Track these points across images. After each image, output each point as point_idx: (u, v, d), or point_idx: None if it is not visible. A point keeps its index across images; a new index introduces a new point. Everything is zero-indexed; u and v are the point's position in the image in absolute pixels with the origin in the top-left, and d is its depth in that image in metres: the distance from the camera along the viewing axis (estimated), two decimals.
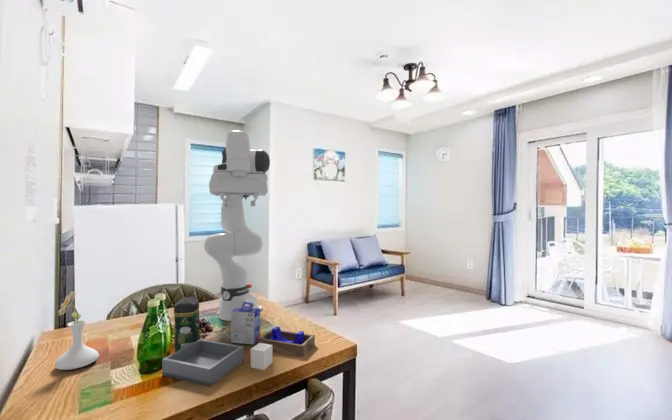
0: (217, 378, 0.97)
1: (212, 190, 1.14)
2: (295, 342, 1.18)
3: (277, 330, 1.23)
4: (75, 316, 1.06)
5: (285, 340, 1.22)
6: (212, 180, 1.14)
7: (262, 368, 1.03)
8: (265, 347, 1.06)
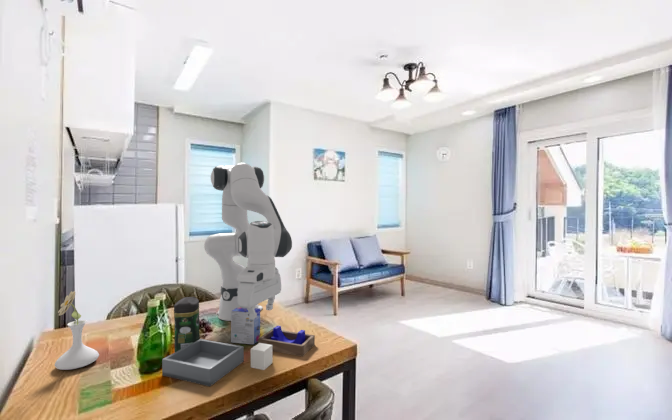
0: (217, 378, 0.97)
1: (249, 307, 0.97)
2: (296, 341, 1.19)
3: (278, 329, 1.23)
4: (75, 316, 1.06)
5: (286, 339, 1.23)
6: (251, 295, 0.97)
7: (262, 368, 1.03)
8: (265, 347, 1.06)
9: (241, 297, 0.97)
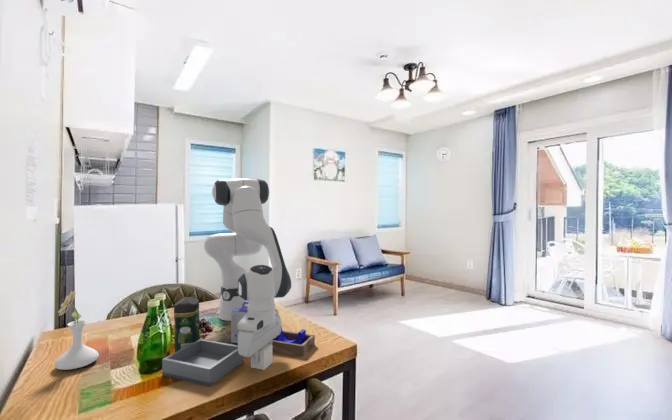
0: (217, 378, 0.97)
1: (249, 356, 0.97)
2: (297, 340, 1.19)
3: None
4: (75, 316, 1.06)
5: (287, 339, 1.23)
6: (251, 344, 0.97)
7: (262, 368, 1.04)
8: (265, 346, 1.06)
9: (241, 346, 0.97)
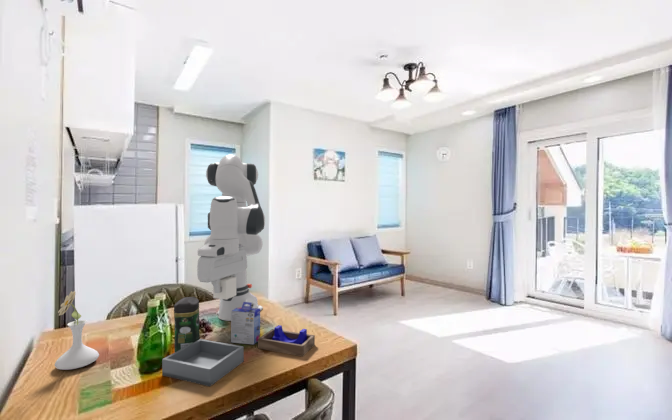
0: (217, 378, 0.97)
1: (209, 281, 0.96)
2: (298, 340, 1.20)
3: (279, 329, 1.24)
4: (75, 316, 1.06)
5: (287, 338, 1.23)
6: (210, 269, 0.95)
7: (224, 297, 1.02)
8: (228, 278, 1.05)
9: (201, 271, 0.95)
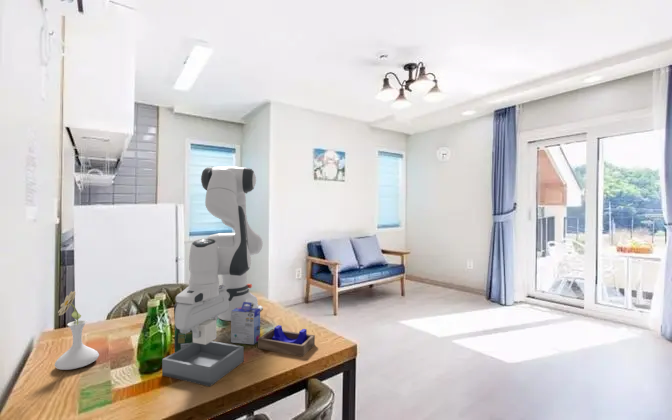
0: (217, 378, 0.97)
1: (186, 328, 0.95)
2: (298, 340, 1.20)
3: (279, 329, 1.24)
4: (75, 316, 1.06)
5: (287, 338, 1.23)
6: (188, 316, 0.95)
7: (203, 343, 1.01)
8: (208, 321, 1.04)
9: (178, 319, 0.95)
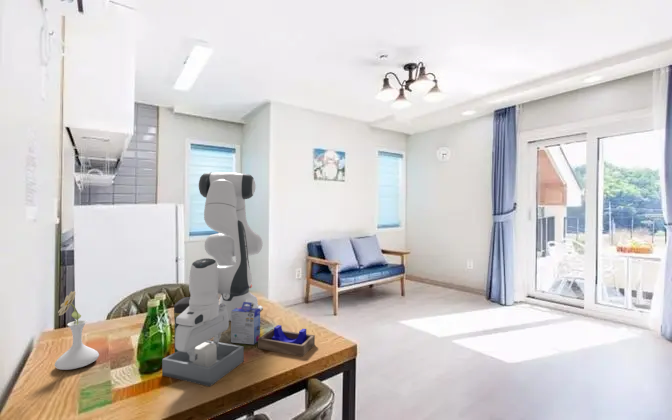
0: (217, 378, 0.97)
1: (186, 350, 0.95)
2: (298, 340, 1.20)
3: (279, 329, 1.24)
4: (75, 316, 1.06)
5: (287, 338, 1.23)
6: (188, 339, 0.95)
7: None
8: (208, 346, 1.04)
9: (178, 341, 0.95)
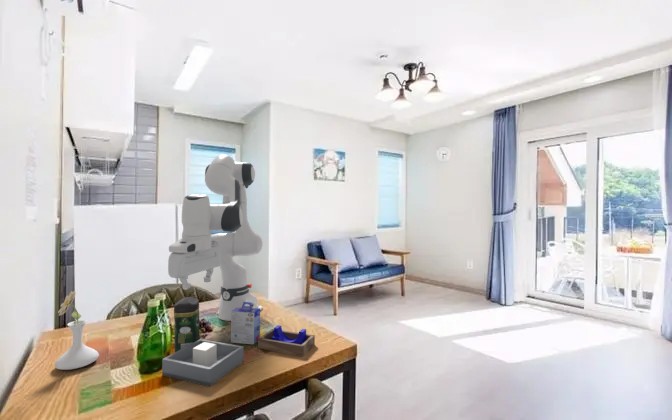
0: (217, 378, 0.97)
1: (179, 276, 0.98)
2: (298, 340, 1.20)
3: (279, 329, 1.24)
4: (75, 316, 1.06)
5: (287, 338, 1.23)
6: (180, 265, 0.98)
7: None
8: (208, 346, 1.04)
9: (171, 267, 0.98)
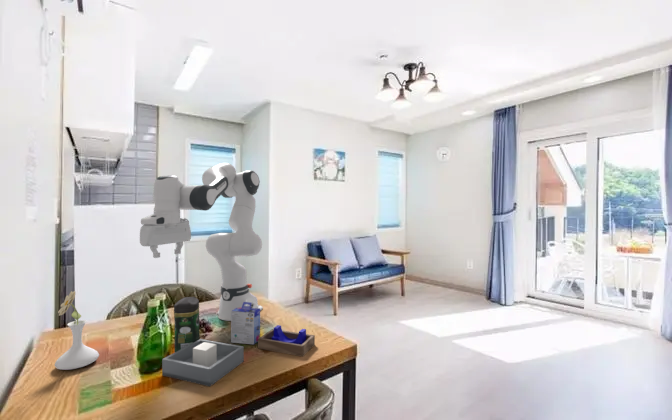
0: (217, 378, 0.97)
1: (149, 245, 1.13)
2: (298, 340, 1.20)
3: (279, 329, 1.24)
4: (75, 316, 1.06)
5: (287, 338, 1.23)
6: (150, 234, 1.13)
7: None
8: (208, 346, 1.04)
9: (142, 237, 1.13)
